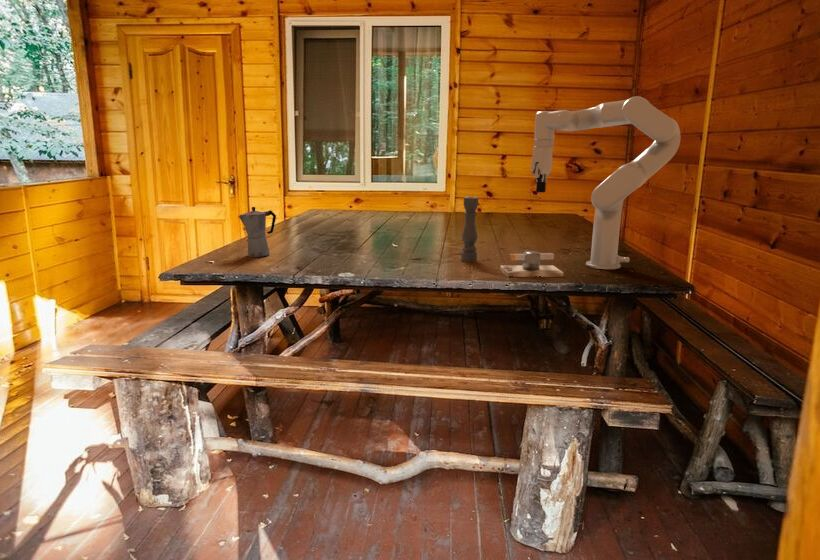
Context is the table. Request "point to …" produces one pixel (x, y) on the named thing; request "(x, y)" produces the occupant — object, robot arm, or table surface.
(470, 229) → the candle holder
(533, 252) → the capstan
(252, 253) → the moka pot
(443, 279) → the table surface
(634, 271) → the table surface
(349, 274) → the table surface
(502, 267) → the stand
